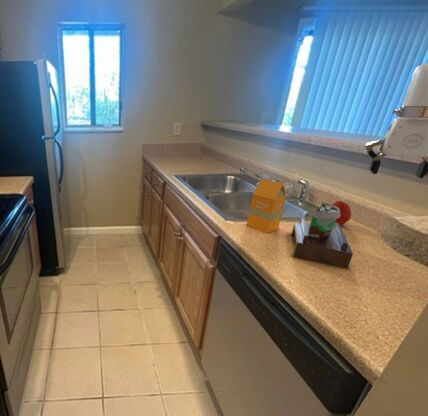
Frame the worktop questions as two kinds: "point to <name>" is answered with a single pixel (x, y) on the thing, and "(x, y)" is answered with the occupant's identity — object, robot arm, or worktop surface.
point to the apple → (342, 212)
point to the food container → (323, 221)
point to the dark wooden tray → (322, 246)
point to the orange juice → (267, 206)
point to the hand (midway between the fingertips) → (395, 175)
